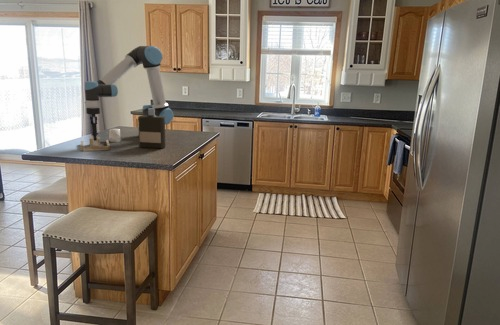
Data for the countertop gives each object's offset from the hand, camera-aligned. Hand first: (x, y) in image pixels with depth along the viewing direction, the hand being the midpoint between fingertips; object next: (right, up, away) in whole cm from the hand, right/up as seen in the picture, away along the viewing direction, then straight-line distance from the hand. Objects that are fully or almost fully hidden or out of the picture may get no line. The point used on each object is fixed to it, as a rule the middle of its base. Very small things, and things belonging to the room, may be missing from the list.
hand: (95, 145), depth 224 cm
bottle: (+33, -1, +8) cm, 34 cm away
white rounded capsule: (+4, +4, +22) cm, 22 cm away
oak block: (-3, 0, +6) cm, 7 cm away
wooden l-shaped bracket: (-1, -1, +2) cm, 3 cm away
